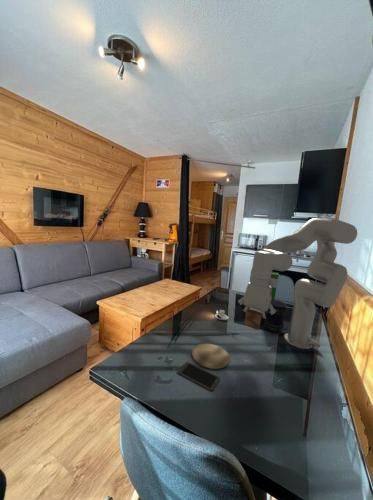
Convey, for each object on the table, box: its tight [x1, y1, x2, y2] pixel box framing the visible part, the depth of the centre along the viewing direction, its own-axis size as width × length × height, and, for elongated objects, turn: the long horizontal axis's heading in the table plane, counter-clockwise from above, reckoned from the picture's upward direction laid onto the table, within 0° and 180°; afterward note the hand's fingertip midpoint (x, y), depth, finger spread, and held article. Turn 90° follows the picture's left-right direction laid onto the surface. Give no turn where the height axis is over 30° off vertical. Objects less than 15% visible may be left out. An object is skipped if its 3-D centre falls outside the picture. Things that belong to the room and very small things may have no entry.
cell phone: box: [176, 361, 221, 392], centre depth 76 cm, size 7×14×1 cm, turn 60°
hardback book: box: [248, 269, 280, 300], centre depth 152 cm, size 18×7×24 cm, turn 70°
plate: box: [191, 343, 231, 370], centre depth 87 cm, size 15×15×1 cm
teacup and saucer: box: [214, 309, 229, 321], centre depth 125 cm, size 9×8×4 cm
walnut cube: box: [243, 307, 262, 331], centre depth 90 cm, size 6×6×6 cm
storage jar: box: [262, 299, 288, 335], centre depth 116 cm, size 10×10×15 cm
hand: (253, 322), depth 91 cm, fingers closed on walnut cube, 6 cm apart
